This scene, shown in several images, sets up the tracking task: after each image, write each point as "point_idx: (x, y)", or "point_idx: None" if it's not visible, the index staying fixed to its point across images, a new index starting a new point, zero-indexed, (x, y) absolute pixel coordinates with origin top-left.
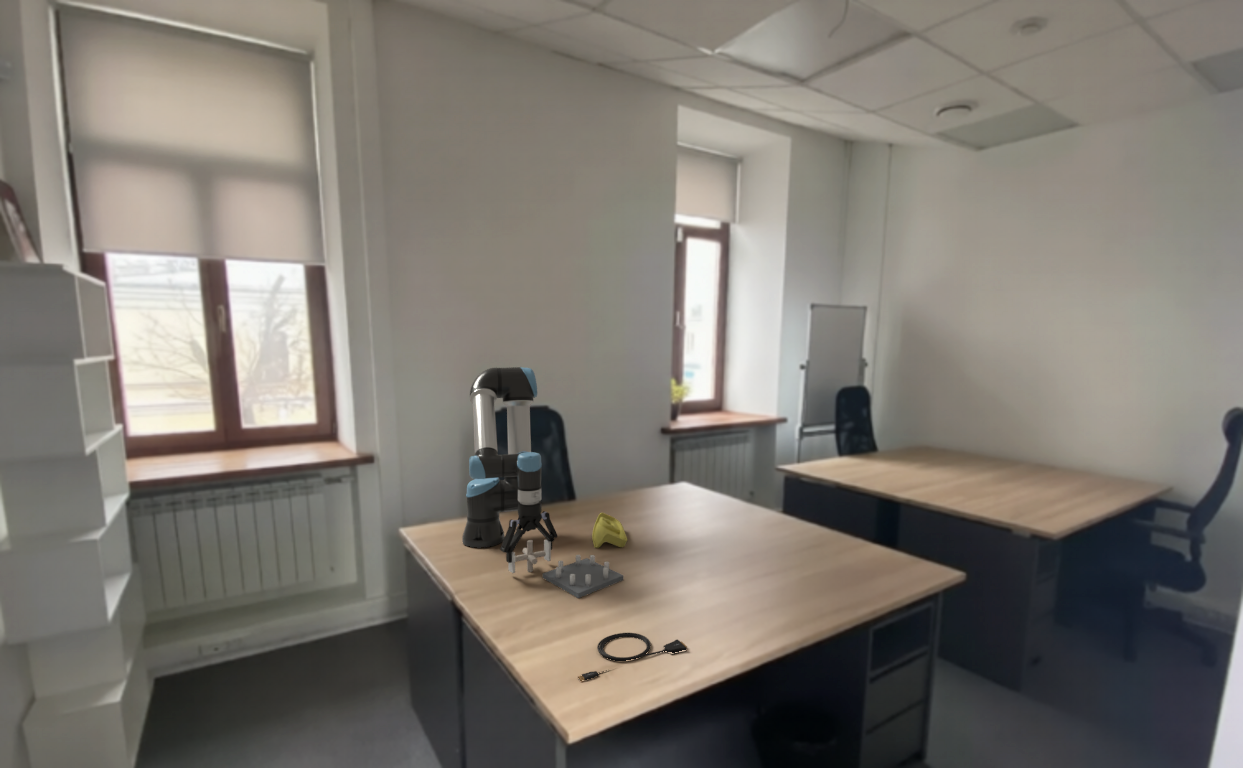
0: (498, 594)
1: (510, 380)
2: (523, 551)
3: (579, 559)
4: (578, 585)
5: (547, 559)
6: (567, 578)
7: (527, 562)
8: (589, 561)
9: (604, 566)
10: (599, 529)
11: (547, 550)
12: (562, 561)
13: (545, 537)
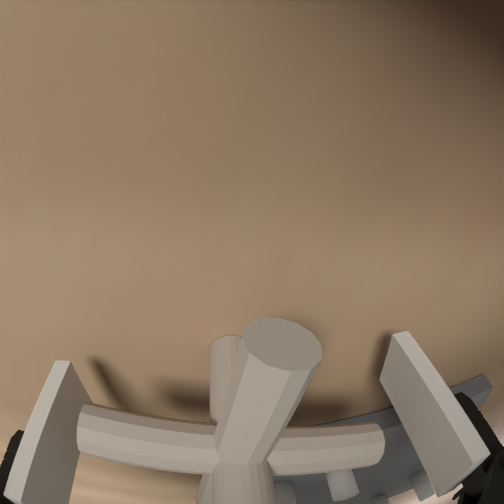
0: (21, 424)
1: None
2: (234, 375)
3: None
4: None
5: (386, 374)
6: (298, 493)
7: (210, 406)
8: None
9: (416, 491)
10: None
11: (415, 429)
12: (351, 495)
13: (486, 485)
